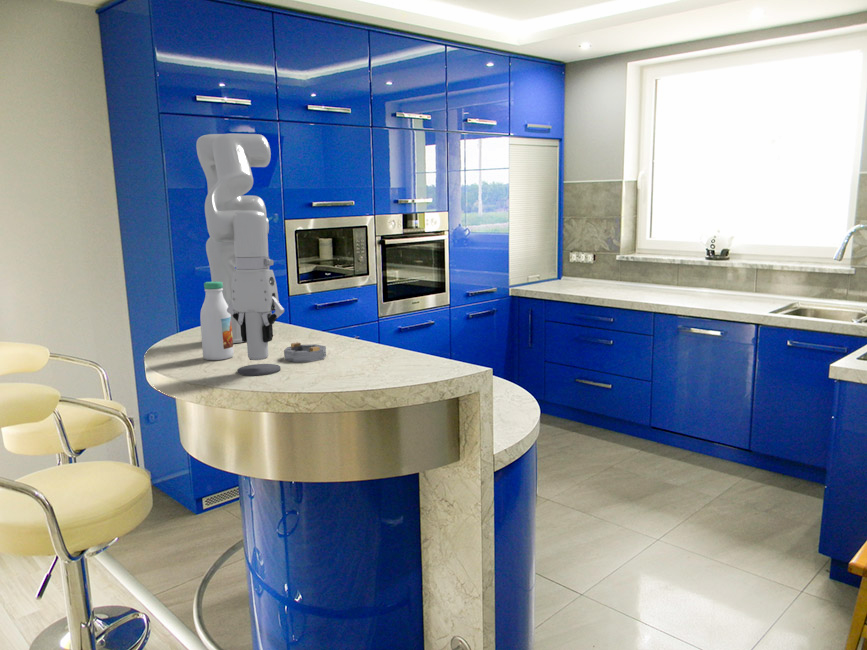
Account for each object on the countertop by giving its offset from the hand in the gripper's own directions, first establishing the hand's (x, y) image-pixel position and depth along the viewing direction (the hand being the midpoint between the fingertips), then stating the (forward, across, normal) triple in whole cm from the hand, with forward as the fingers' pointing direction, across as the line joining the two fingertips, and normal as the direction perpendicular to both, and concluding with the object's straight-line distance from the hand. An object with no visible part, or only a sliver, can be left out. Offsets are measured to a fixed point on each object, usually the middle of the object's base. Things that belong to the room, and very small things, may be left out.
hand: (257, 340), depth 163 cm
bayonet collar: (+7, -4, -16) cm, 18 cm away
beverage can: (+5, 0, 0) cm, 5 cm away
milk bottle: (+8, +19, -12) cm, 23 cm away
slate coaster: (+7, 0, 0) cm, 7 cm away
